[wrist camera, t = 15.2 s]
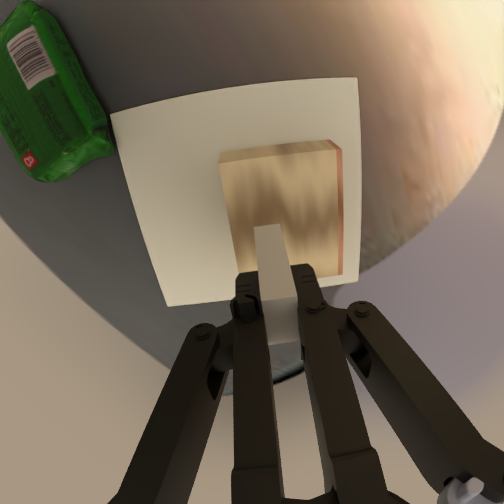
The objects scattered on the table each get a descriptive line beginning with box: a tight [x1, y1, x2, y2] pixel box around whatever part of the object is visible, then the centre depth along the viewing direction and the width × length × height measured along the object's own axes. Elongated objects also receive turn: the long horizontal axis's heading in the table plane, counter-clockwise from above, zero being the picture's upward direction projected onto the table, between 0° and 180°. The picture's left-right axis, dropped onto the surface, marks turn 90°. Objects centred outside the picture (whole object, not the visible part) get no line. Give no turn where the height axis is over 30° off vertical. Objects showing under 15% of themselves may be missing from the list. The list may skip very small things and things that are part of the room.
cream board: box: [110, 77, 362, 307], centre depth 25 cm, size 18×18×1 cm
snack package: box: [0, 0, 115, 182], centre depth 17 cm, size 7×16×5 cm, turn 24°
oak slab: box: [218, 139, 344, 278], centre depth 24 cm, size 10×3×8 cm
